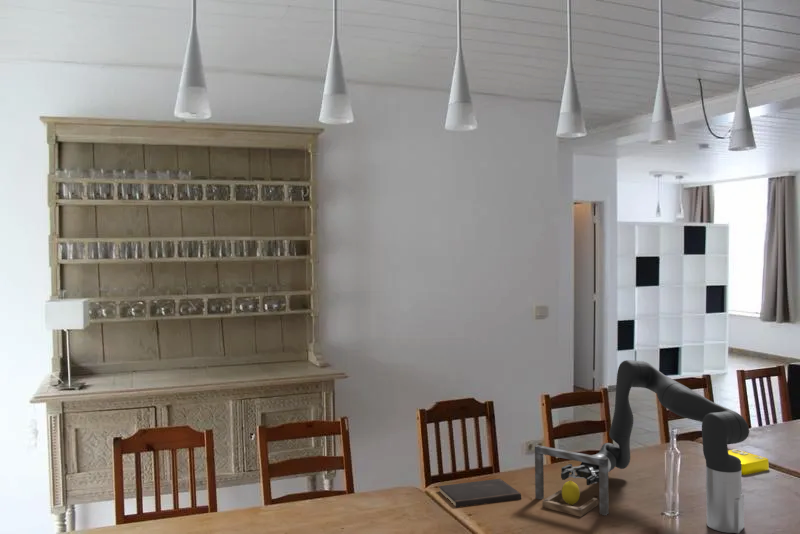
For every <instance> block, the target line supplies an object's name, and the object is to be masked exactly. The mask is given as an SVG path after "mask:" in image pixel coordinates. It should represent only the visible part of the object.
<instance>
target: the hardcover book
mask: <svg viewBox="0 0 800 534" xmlns="http://www.w3.org/2000/svg"><path fill="white" fill-rule="evenodd" d="M438 488H439V492H440V493H441V494H442V495H443V496H444V497H445V498H446V499H447V498H448V499H449V500H450V501H451V502H450V501H449V500H448V499H447V500H448V501H449V502H450V503H453V504H452V505H454V507H455V508H461V507H460V506H464V507H467V506H466V505H472V506H475V505H474V504H479V505H485V504H484V503H487V504H493V503H501V502H508V501H509V502H510V501H517V500H522V494H521V492H519V491H518V490H516V489H515V488H514V487H513V486H511V485H510V484H508V483H507V482H505V481H504V480H503V479H501V478H495V479H494V478H493V479H486V480H485V479H484V480H477V481H471V482H459V483H453V484H445V485H443V484H442V485H438Z"/></svg>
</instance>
